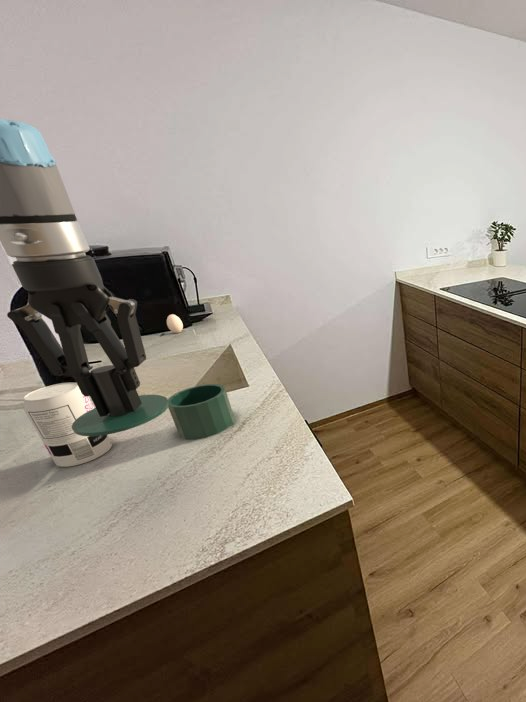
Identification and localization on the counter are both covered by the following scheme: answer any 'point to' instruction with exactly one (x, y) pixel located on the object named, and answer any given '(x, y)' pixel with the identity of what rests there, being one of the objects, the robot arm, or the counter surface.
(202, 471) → the counter surface
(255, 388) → the counter surface
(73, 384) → the supplement can
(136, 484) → the counter surface
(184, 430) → the pot
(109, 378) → the lid
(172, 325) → the egg
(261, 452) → the counter surface
